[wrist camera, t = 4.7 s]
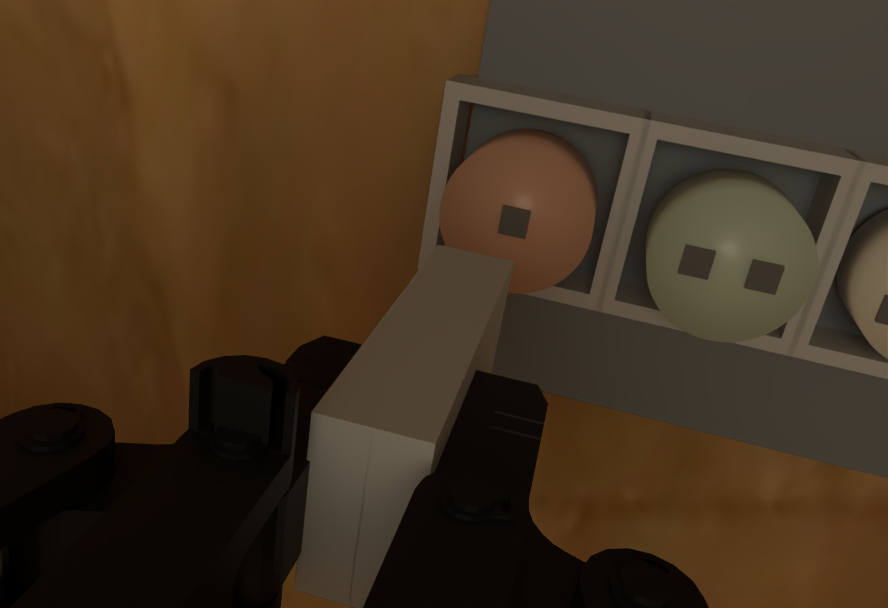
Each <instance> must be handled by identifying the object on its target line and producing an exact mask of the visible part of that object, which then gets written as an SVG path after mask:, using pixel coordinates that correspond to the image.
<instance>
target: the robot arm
mask: <svg viewBox="0 0 888 608" xmlns="http://www.w3.org/2000/svg"><path fill="white" fill-rule="evenodd" d="M513 264H514V261H510V260H505V259H501V258H496V257H492V256H487V255H483V254H478V253H474V252H469V251H464V250H460V249H455V248H451V247H446V246H442V245H437V247H436V248H435V249H434V251H433V252H432V253H431V255H430V256H429V257H428V258H427V260H426V261H425V262H424V264H423V265H422V266H421V268H420V269H419V270H418V272H417V273H416V274H415V276H414V277H413V278H412V280H411V281H410V282H409V284H408V285H407V286H406V288H405V289H404V290H403V292H402V293H401V294H400V296H399V297H398V298H397V299H396V301H395V302H394V303H393V305H392V306H391V307H390V309H389V310H388V311H387V313H386V314H385V315H384V317H383V318H382V319H381V321H380V322H379V323H378V325H377V326H376V327H375V329H374V330H373V331H372V333H371V334H370V335H369V337H368V338H367V339H366V341H365V342H364V343H363V344H362V345H361V344H357V343H353V342H349V341H345V340H341V339H337V338H332V337H328V336H322V337H320V338H317V339H315V340H313V341H310V342H308V343H306V344H303V345H301V346H300V347H299V348H298V349H297V350H296V351H295V352H294V353H293V354H292V355H291V356H290V357H289V358H288V359H287V361H286V363H285V364H281V363H278V362H275V361H273V360H270V359H267V358H262V357H255V356H248V355H238V356H223V357H219V358H215V359H211V360H207V361H204V362H202V363H200V364H198V365H197V366H195V367H193V368H191V369H190V393H189V429H188V430H187V431H186V432H185V433H184V434H183V435H182V436H181V437H180V438H179V439H178V440H177V441H176V442H175V443H174V444H160V445H155V444H135V443H116V442H115V430H114V427H113V424H112V420H111V418H109V417H108V416H107V415H105V414H104V413H103V412H101V411H100V410H99V409H95V408H92V407H89V406H85V405H82V404H72V403H53V404H46V405H39V406H33V407H30V408H27V409H24V410H21V411H18V412H15V413H13V414H10V415H8V416H6V417H4V418H2V419H0V608H280V607H281V597H282V586H283V583H284V581H285V579H286V578H287V576H288V574H289V572H290V571H291V569H292V567H293V566H294V564H295V562H296V561H297V566H296V576H295V586H294V590H297V591H300V592H304V593H307V594H310V595H314V596H317V597H321V598H324V599H327V600H331V601H334V602H338V603H341V604H344V605H348V606H351V607H355V608H709V607H708V605H707V603H706V600H705V599H704V597H703V595H702V594H701V592H700V591H699V589H698V588H697V586H696V585H695V583H694V582H693V581H692V580H691V579H690V578H689V577H687V576H686V575H685V574H684V573H683V572H682V571H680V570H679V569H678V568H677V567H676V566H674V565H673V564H671V563H669V562H667V561H665V560H663V559H661V558H659V557H657V556H655V555H653V554H650V553H645V552H641V551H637V550H633V549H629V548H625V549H606V550H604V551H601V552H599V553H597V554H594V555H592V556H590V558H589V559H588V560H587V562H586V563H585V562H583V561H581V560H580V559H578V558H576V557H574V556H572V555H570V554H568V553H567V552H565V551H563V550H562V549H560V548H559V547H557V546H556V545H554V544H553V543H552V542H551V541H549V540H548V539H547V538H546V537H545V536H544V535H543V534H542V533H541V532H540V531H539V529H538V528H537V526H536V525H535V524H534V522H533V520H532V517H531V515H530V512H529V496H530V491H531V486H532V481H533V476H534V471H535V466H536V461H537V456H538V451H539V446H540V441H541V436H542V431H543V426H544V421H545V416H546V411H547V406H548V403H547V401H546V400H545V398H544V396H543V394H542V392H541V390H540V388H539V386H538V385H536V384H532V383H528V382H524V381H520V380H515V379H511V378H507V377H503V376H499V375H495V374H491V373H492V368H493V363H494V358H495V353H496V349H497V344H498V339H499V334H500V329H501V324H502V319H503V314H504V309H505V304H506V299H507V294H508V289H509V284H510V279H511V274H512V269H513Z"/></svg>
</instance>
